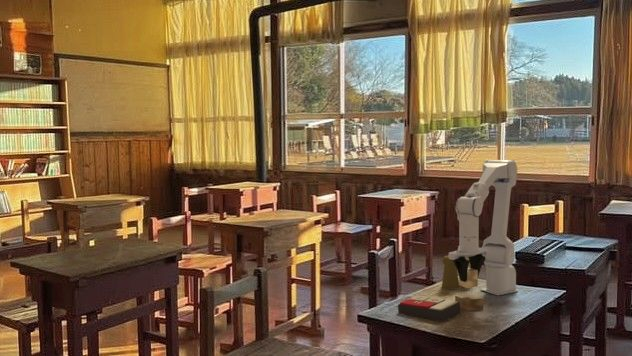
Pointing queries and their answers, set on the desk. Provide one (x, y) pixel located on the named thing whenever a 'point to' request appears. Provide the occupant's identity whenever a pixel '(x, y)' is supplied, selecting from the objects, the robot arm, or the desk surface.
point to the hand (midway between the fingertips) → (469, 280)
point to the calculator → (429, 308)
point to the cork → (450, 274)
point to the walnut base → (469, 301)
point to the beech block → (470, 279)
